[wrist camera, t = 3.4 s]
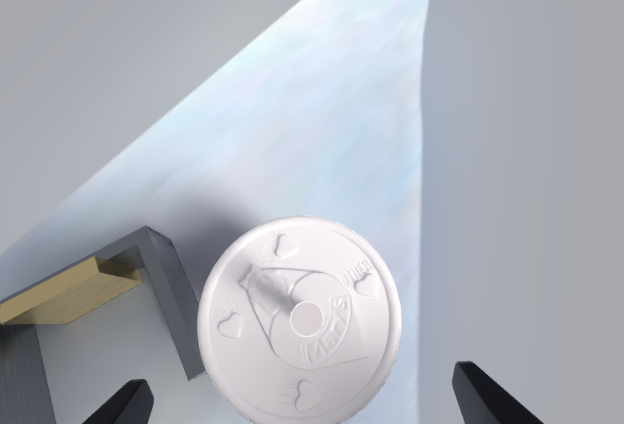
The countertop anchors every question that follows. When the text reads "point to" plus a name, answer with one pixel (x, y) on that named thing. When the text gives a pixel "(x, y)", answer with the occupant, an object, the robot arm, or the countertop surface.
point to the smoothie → (299, 322)
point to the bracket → (80, 300)
